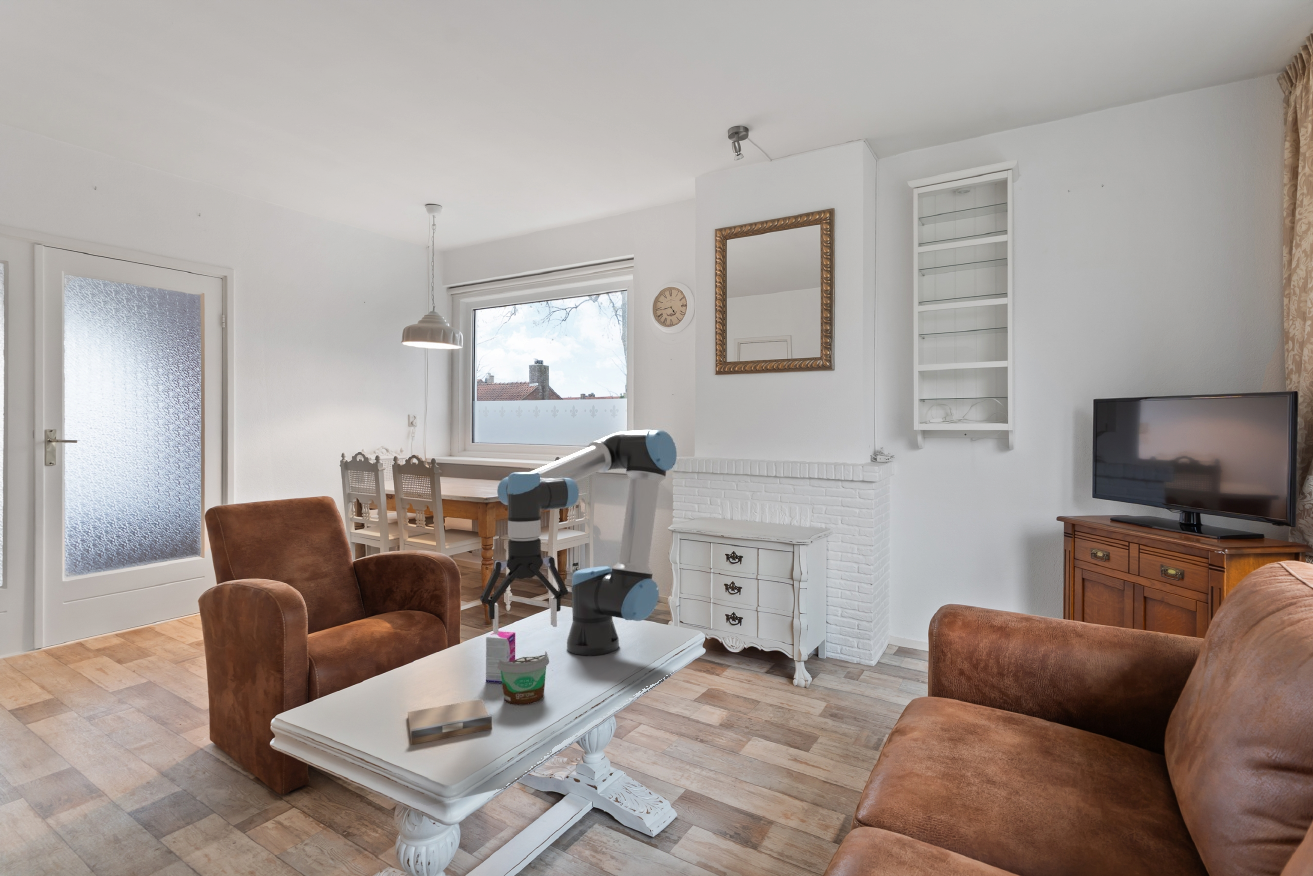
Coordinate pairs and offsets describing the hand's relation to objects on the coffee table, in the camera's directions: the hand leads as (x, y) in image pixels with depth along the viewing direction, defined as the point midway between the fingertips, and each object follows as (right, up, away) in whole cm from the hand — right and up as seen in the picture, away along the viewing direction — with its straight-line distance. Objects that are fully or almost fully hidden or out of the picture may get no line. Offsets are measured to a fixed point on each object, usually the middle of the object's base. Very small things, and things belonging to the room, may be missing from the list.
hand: (525, 629), depth 151 cm
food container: (0, -17, 0) cm, 17 cm away
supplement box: (-9, -17, +15) cm, 24 cm away
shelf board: (-14, -17, -11) cm, 25 cm away
